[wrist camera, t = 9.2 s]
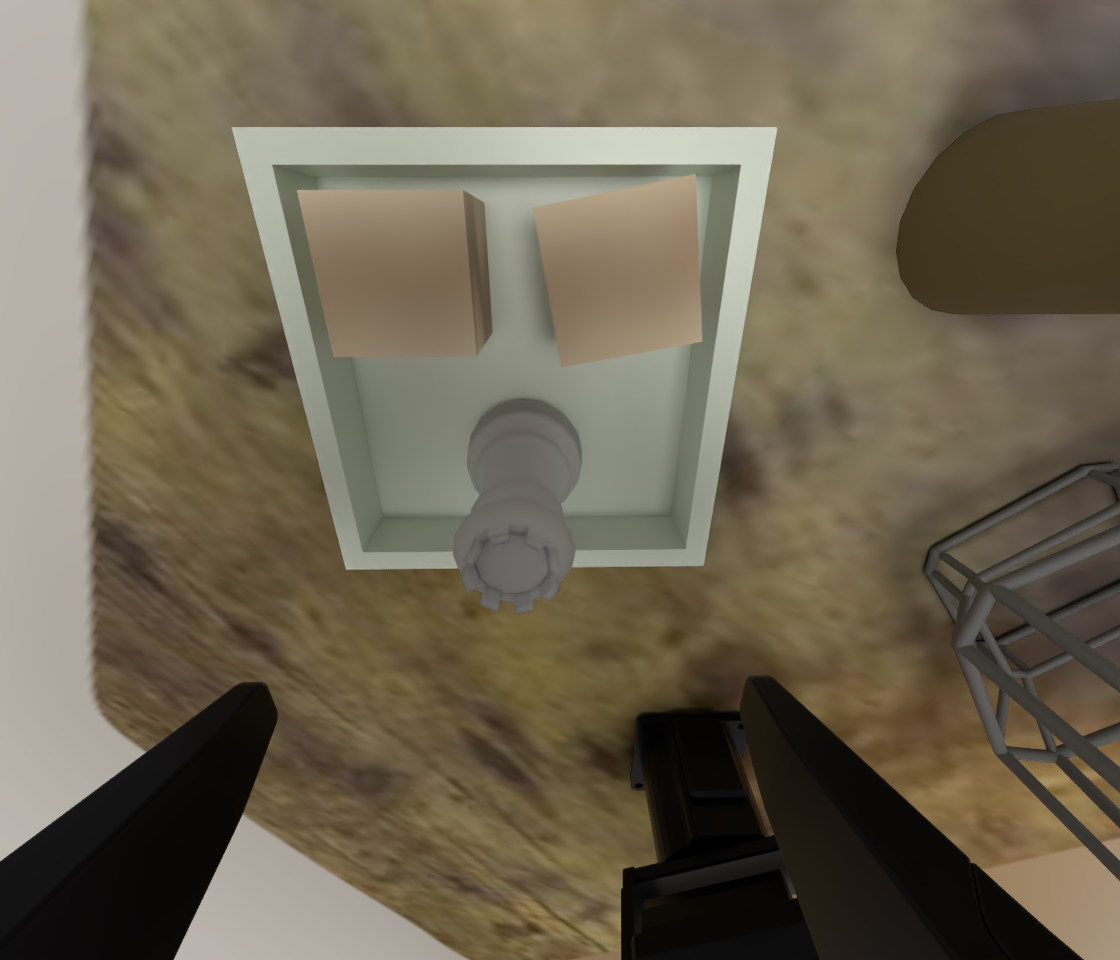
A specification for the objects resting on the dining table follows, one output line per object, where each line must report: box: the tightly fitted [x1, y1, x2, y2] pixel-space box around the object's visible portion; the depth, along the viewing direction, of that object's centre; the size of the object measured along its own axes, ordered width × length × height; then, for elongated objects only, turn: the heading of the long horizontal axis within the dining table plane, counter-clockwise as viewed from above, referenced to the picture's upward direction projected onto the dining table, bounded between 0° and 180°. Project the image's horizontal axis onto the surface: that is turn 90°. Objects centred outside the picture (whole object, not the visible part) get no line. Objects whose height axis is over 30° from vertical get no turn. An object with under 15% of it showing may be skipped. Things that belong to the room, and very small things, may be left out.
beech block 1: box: [297, 190, 493, 357], centre depth 14 cm, size 4×4×4 cm
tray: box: [232, 127, 777, 570], centre depth 17 cm, size 14×14×3 cm
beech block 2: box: [533, 174, 702, 367], centre depth 14 cm, size 4×4×4 cm
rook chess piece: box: [453, 399, 582, 614], centre depth 15 cm, size 4×4×8 cm
